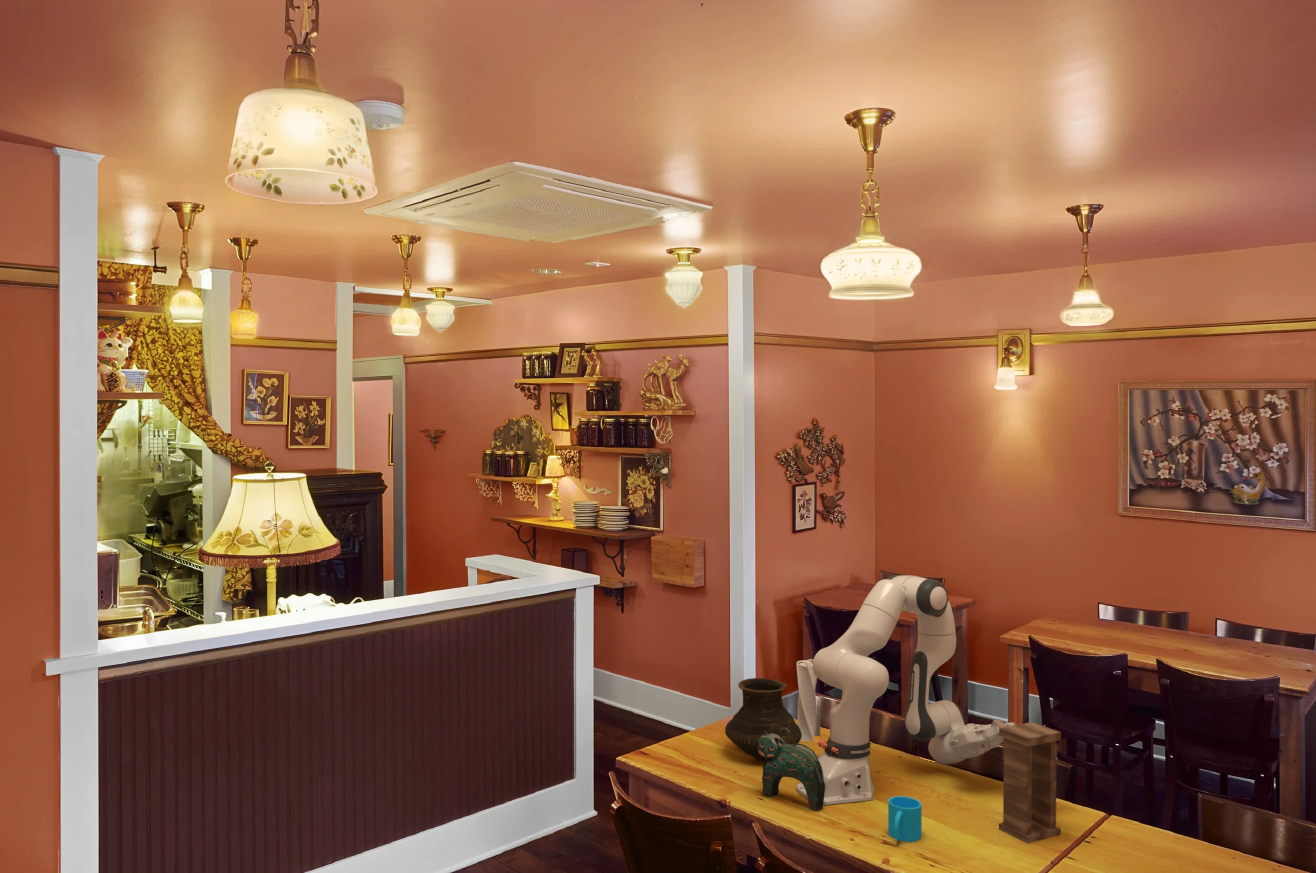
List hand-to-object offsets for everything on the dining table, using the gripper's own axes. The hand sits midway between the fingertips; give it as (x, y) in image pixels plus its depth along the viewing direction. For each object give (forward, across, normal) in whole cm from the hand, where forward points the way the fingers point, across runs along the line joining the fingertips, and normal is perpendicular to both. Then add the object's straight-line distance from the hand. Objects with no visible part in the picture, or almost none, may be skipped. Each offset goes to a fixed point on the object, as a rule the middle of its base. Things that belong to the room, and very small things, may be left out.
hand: (1004, 728), depth 246 cm
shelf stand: (+6, -12, +26) cm, 30 cm away
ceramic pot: (-60, -43, -12) cm, 75 cm away
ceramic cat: (-30, -56, +5) cm, 64 cm away
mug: (-4, -44, +21) cm, 49 cm away
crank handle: (+1, +2, +5) cm, 6 cm away
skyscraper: (-65, -21, -14) cm, 70 cm away
